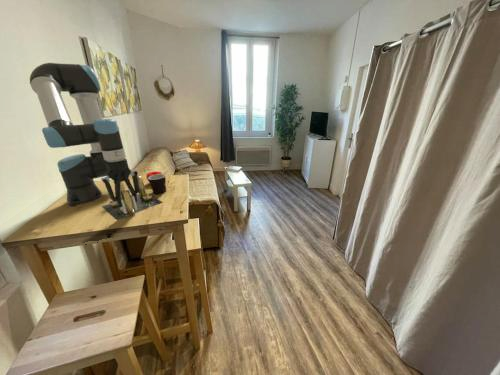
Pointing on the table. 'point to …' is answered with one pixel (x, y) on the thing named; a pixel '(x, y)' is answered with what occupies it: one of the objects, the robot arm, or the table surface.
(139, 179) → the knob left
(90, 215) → the table surface
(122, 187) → the knob back
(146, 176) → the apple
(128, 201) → the knob front
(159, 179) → the coffee mug
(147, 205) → the levelling plate
